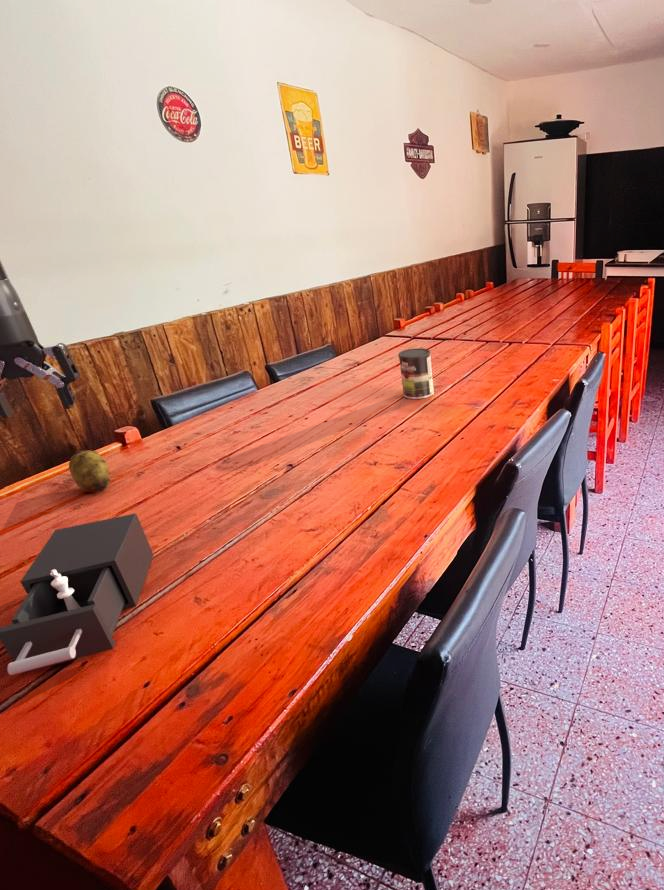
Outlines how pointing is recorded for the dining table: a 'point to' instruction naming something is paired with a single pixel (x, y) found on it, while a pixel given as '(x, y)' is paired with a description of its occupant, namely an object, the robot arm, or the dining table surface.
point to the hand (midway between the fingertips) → (39, 412)
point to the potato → (89, 471)
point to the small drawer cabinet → (97, 554)
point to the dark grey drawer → (64, 621)
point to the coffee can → (416, 373)
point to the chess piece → (64, 590)
